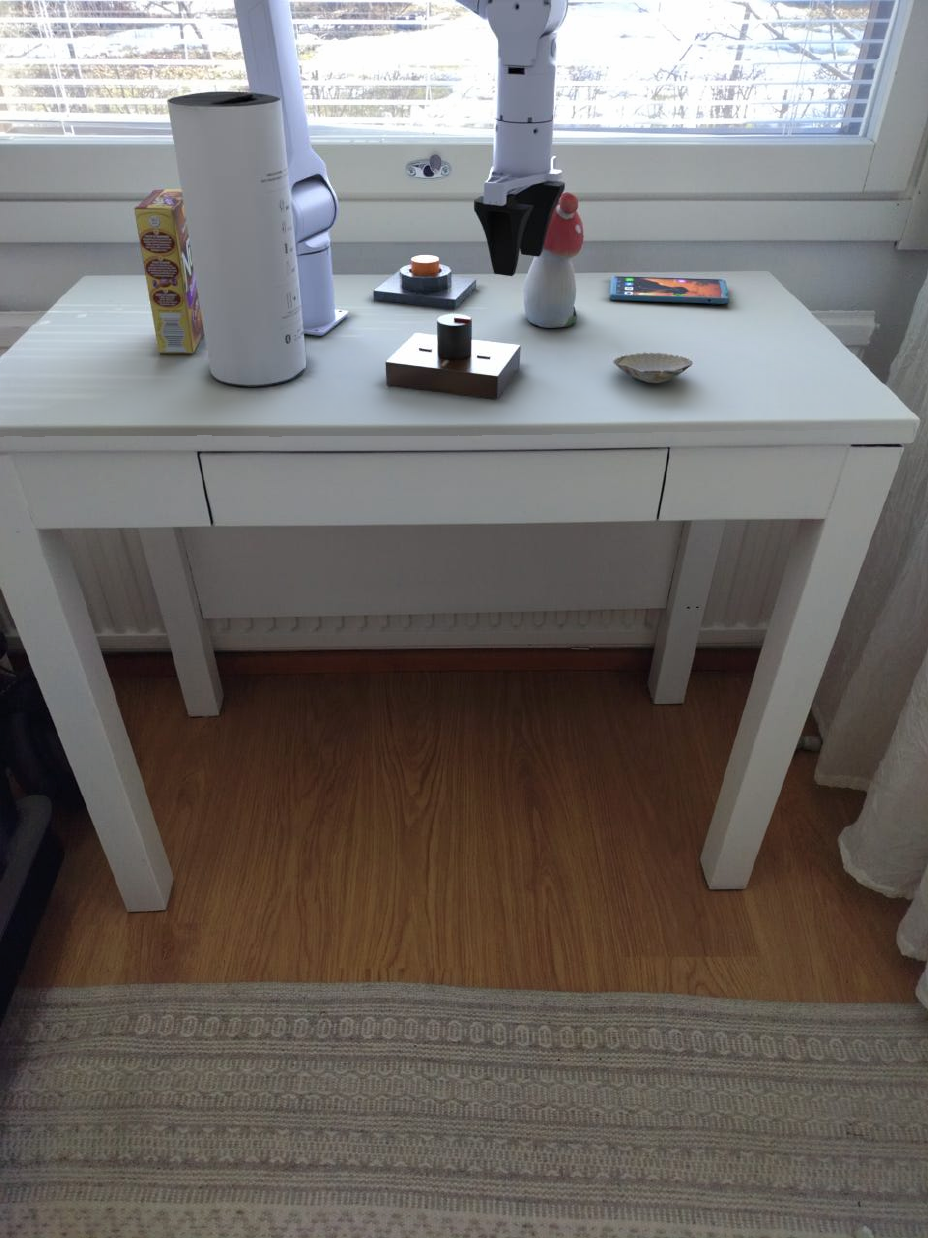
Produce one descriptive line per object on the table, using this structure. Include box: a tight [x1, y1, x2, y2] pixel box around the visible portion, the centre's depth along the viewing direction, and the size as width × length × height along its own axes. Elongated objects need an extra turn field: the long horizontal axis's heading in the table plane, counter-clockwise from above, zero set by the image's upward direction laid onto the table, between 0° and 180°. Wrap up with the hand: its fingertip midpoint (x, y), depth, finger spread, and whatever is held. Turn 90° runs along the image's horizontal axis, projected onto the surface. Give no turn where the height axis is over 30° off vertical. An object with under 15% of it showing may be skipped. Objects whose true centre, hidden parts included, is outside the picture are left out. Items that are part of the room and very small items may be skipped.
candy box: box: [133, 188, 204, 355], centre depth 101 cm, size 9×4×15 cm, turn 2°
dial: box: [436, 313, 473, 359], centre depth 95 cm, size 4×4×4 cm
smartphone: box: [608, 275, 730, 306], centre depth 120 cm, size 8×1×15 cm
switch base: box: [372, 263, 477, 310], centre depth 119 cm, size 11×9×3 cm
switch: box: [410, 254, 440, 275], centre depth 117 cm, size 4×4×2 cm
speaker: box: [166, 90, 307, 388], centre depth 91 cm, size 11×10×26 cm
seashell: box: [612, 352, 693, 384], centre depth 97 cm, size 8×3×8 cm
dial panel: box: [384, 332, 521, 401], centre depth 97 cm, size 12×9×3 cm
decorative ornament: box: [523, 192, 585, 329], centre depth 107 cm, size 9×6×15 cm
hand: (517, 264), depth 96 cm, fingers open, 7 cm apart
